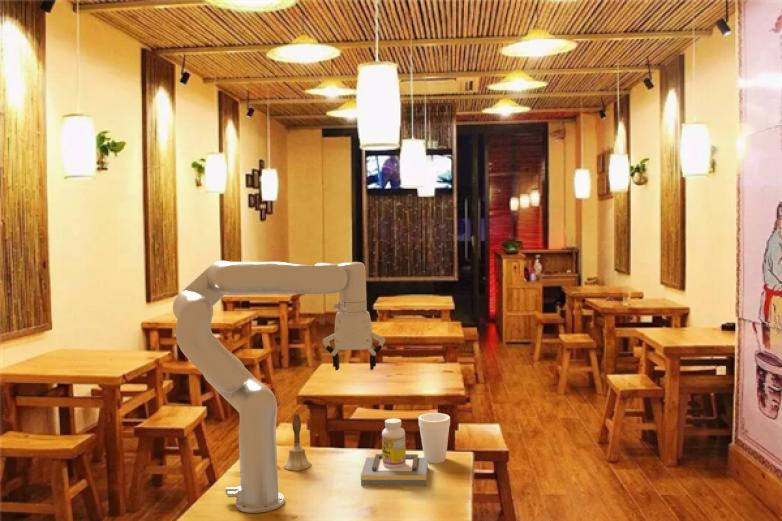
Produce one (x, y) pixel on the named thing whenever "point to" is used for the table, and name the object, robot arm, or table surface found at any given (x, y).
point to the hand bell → (297, 449)
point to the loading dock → (395, 473)
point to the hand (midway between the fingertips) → (354, 369)
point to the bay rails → (408, 456)
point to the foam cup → (434, 436)
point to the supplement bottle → (393, 444)
